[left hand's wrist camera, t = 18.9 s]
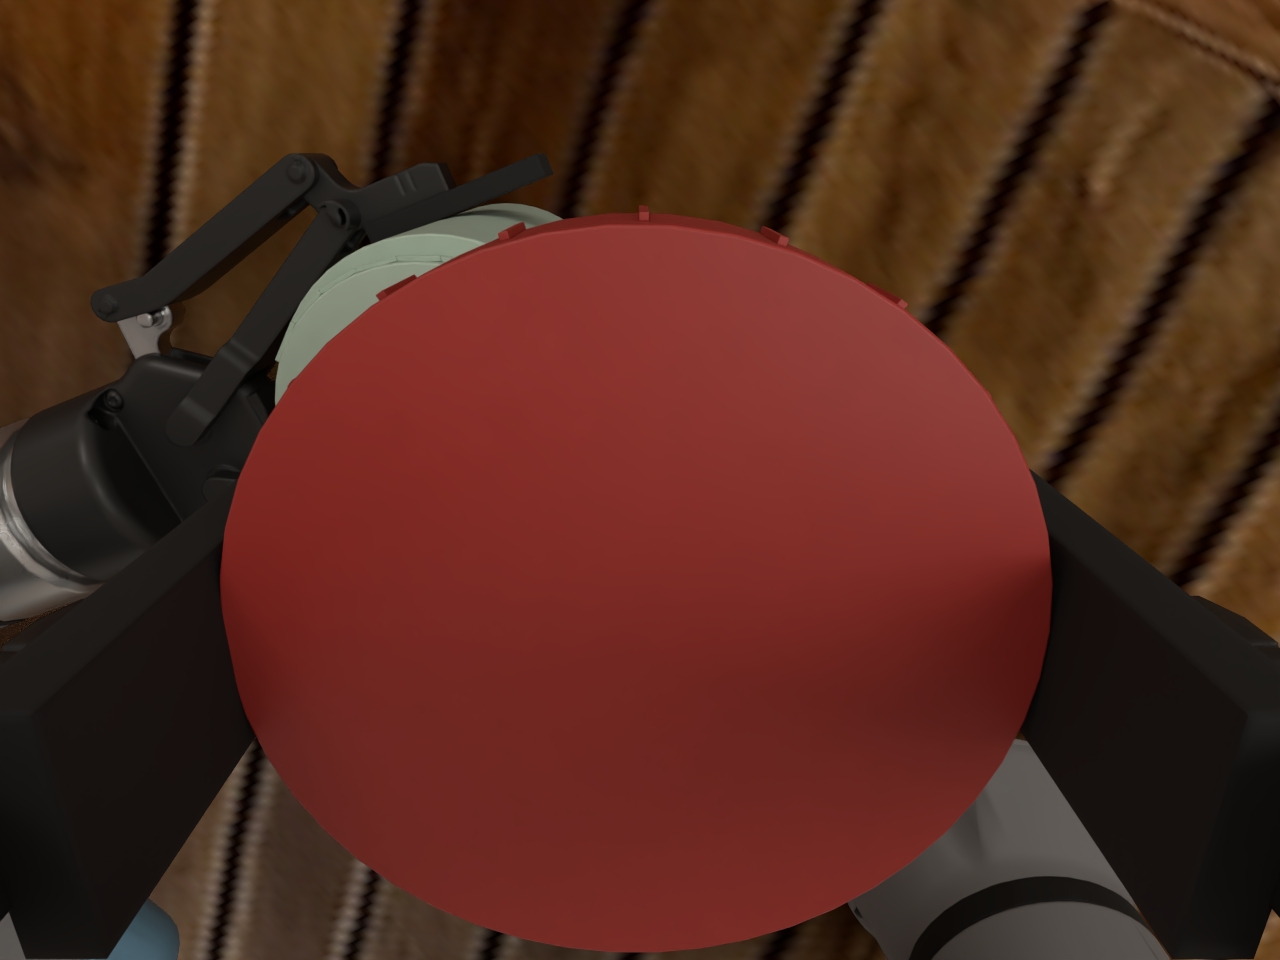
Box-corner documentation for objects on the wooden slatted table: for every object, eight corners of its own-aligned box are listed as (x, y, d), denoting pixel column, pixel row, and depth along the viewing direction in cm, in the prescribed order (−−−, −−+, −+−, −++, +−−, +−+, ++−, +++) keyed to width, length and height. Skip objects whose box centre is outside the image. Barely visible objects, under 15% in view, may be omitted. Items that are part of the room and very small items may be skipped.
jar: (656, 274, 37) (667, 356, 22) (556, 448, 40) (507, 625, 25) (462, 160, 35) (333, 165, 20) (374, 351, 38) (204, 479, 23)
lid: (123, 482, 11) (25, 544, 10) (763, 24, 9) (793, -9, 8) (552, 937, 14) (539, 1050, 12) (1105, 662, 12) (1185, 748, 11)
